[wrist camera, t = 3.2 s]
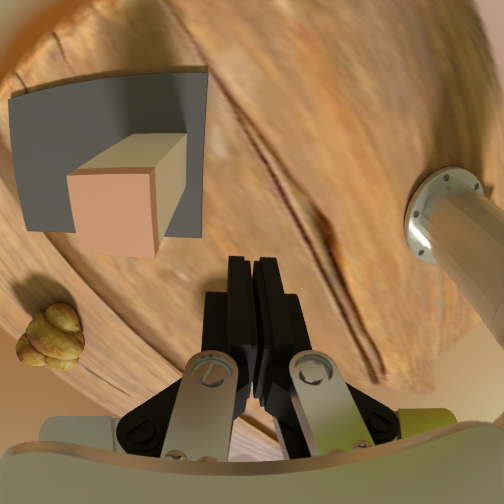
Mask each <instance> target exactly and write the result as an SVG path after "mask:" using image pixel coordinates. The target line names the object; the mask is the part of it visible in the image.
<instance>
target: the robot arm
mask: <svg viewBox="0 0 504 504" xmlns="http://www.w3.org/2000/svg"><path fill="white" fill-rule="evenodd" d="M404 233H405V239H406V242H407V244H408V247H409V248H410V249H411V251H412V252H413V253H414V255H415V256H416V257H417V258H418V259H420V260H422V261H424V262H427V263H435V264H436V263H439V264H440V266H441V267H442V268H443V269H444V270H445V272H446V273H447V274H448V275H449V276H450V278H451V279H452V280H453V281H454V283H455V284H456V285H457V287H458V288H459V289H460V290H461V292H462V293H463V294H464V296H465V297H466V298H467V300H468V301H469V302H470V304H471V305H472V306H473V308H474V309H475V310H476V312H477V313H478V315H479V316H480V317H481V319H482V320H483V322H484V323H485V324H486V326H487V328H488V329H489V330H490V332H491V333H492V335H493V336H494V338H495V339H496V341H497V342H498V343H499V345H500V346H501V347H502V348H503V349H504V210H503V209H501V208H500V207H499V206H497V205H496V204H494V203H493V202H492V201H490V200H489V199H487V198H486V197H485V196H484V191H483V188H482V186H481V183H480V182H479V180H478V179H477V177H476V176H475V175H473V174H472V173H471V172H469V171H468V170H466V169H464V168H461V167H455V166H450V167H445V168H442V169H440V170H438V171H436V172H434V173H433V174H431V175H430V176H429V177H427V178H426V179H425V180H424V181H423V182H422V184H421V185H420V186H419V187H418V189H417V190H416V192H415V193H414V195H413V197H412V199H411V201H410V203H409V206H408V209H407V212H406V216H405V222H404ZM252 385H253V396H254V398H259V401H260V407H264V408H265V411H266V412H268V413H269V414H270V415H272V417H273V423H274V426H275V430H276V433H277V436H278V440H279V443H280V446H281V449H282V453H283V456H284V459H285V460H279V461H263V462H228V456H229V449H230V442H231V435H232V428H233V421H234V420H235V419H236V418H237V417H238V416H239V415H240V414H242V413H243V412H244V411H245V407H246V401H247V398H249V397H250V391H251V386H252ZM0 504H504V412H503V414H501V415H500V416H499V417H498V418H497V419H496V420H495V421H494V422H493V423H491V422H486V421H464V422H458V423H457V420H456V417H455V416H454V414H453V413H452V412H451V411H449V410H448V409H444V408H429V409H427V408H426V409H398V410H397V411H392V410H391V409H390V408H388V407H387V406H385V405H383V404H381V403H380V402H378V401H376V400H375V399H373V398H371V397H369V396H368V395H366V394H364V393H363V392H361V391H359V390H357V389H356V388H354V387H352V386H351V385H349V384H347V383H346V382H345V381H344V379H343V377H342V375H341V373H340V371H339V369H338V367H337V365H336V363H335V362H334V361H333V359H332V358H330V357H329V356H328V355H327V354H324V353H322V352H320V351H315V350H312V347H311V343H310V340H309V336H308V332H307V328H306V324H305V321H304V317H303V313H302V310H301V306H300V302H299V299H298V296H297V295H296V294H284V290H283V285H282V281H281V277H280V272H279V268H278V264H277V260H276V258H271V257H260V261H254V266H253V275H251V265H250V261H244V256H229V260H228V278H227V292H206V296H205V308H204V320H203V334H202V348H201V352H199V353H197V354H195V355H194V356H192V357H191V358H190V359H189V360H188V362H187V364H186V366H185V370H184V373H183V377H182V378H180V379H179V380H177V381H176V382H175V383H173V384H172V385H170V386H169V387H167V388H166V389H164V390H163V391H161V392H160V393H158V394H157V395H155V396H154V397H152V398H151V399H149V400H148V401H146V402H144V403H143V404H141V405H140V406H138V407H137V408H135V409H134V410H132V411H130V412H129V413H127V414H126V415H125V416H124V417H122V418H112V417H111V416H54V417H50V418H48V419H47V420H45V421H44V423H43V424H42V426H41V429H40V436H39V441H32V442H25V443H21V444H17V445H15V446H12V447H10V448H9V449H8V450H7V451H6V452H5V453H4V454H3V456H2V457H1V459H0Z"/></svg>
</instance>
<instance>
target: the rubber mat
mask: <svg viewBox="0 0 504 504" xmlns="http://www.w3.org/2000/svg"><path fill="white" fill-rule="evenodd" d="M208 74H209V73H161V74H144V75H131V76H121V77H112V78H104V79H97V80H90V81H84V82H78V83H73V84H68V85H63V86H58V87H53V88H49V89H44V90H40V91H36V92H32V93H29V94H25V95H21V96H18V97H14V98H11V99H8V108H9V127H10V139H11V148H12V157H13V164H14V171H15V177H16V182H17V188H18V193H19V199H20V203H21V208H22V212H23V217H24V221H25V225H26V229H27V231H39V232H68V233H76V230H75V225H74V220H73V215H72V209H71V203H70V197H69V191H68V184H67V175H68V174H70V173H71V172H73V171H74V170H76V169H77V168H79V167H80V166H82V165H83V164H85V163H86V162H88V161H89V160H91V159H92V158H94V157H95V156H97V155H98V154H100V153H102V152H103V151H105V150H107V149H108V148H110V147H111V146H113V145H115V144H117V143H118V142H120V141H122V140H123V139H125V138H127V137H129V136H130V135H132V134H146V133H187V149H186V187H185V189H184V191H183V194H182V196H181V198H180V200H179V202H178V205H177V207H176V209H175V211H174V214H173V216H172V218H171V221H170V223H169V225H168V228H167V230H166V232H165V235H164V237H184V238H201V237H202V190H203V159H204V137H205V118H206V102H207V87H208Z"/></svg>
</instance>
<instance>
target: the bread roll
mask: <svg viewBox="0 0 504 504" xmlns="http://www.w3.org/2000/svg"><path fill="white" fill-rule="evenodd" d="M84 346H85V338H84V335H83V332H82V330H81V328H80V323H79V319H78V316H77V314H76V312H75V311H74V309H73V308H71V307H70V306H69V305H67V304H64V303H55V304H53V305H51V306H49V307H48V308H47V310H40V311H38V312H37V313H36V314H35V316H34V317H33V320H32V321H31V322H30V323H29V326H28V327H27V329H26V333H24V334H23V335H22V336H21V337H20V339H19V340H18V342H17V344H16V353H17V356H18V358H19V360H20V361H21V362H22V363H24V364H27V365H30V366H42V365H45V364H46V363H47V366H48V367H50V368H51V369H56V370H60V371H68V370H69V369H70V368H72V367H73V366H75V365H76V363H77V362H78V360H79V356H80V355H81V354H82V352H83V349H84Z"/></svg>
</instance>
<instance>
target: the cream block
mask: <svg viewBox="0 0 504 504" xmlns="http://www.w3.org/2000/svg"><path fill="white" fill-rule="evenodd" d="M186 149H187V133H146V134H132V135H130V136H129V137H127V138H125V139H123V140H122V141H120V142H118V143H117V144H115V145H113V146H111V147H110V148H108V149H107V150H105V151H103V152H102V153H100V154H98V155H97V156H95V157H94V158H92V159H91V160H89V161H88V162H86V163H85V164H83V165H82V166H80V167H79V168H77V169H76V170H74V171H73V172H71V173H70V174H68V175H67V184H68V191H69V197H70V203H71V209H72V215H73V220H74V225H75V230H76V235H77V240H78V244H79V249H80V253H85V254H100V255H116V256H133V257H149V258H155V257H156V254H157V252H158V249H159V247H160V244H161V242H162V239H163V237H164V235H165V232H166V230H167V228H168V225H169V223H170V221H171V218H172V216H173V214H174V211H175V209H176V207H177V205H178V202H179V200H180V198H181V196H182V194H183V191H184V189H185V187H186Z"/></svg>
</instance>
